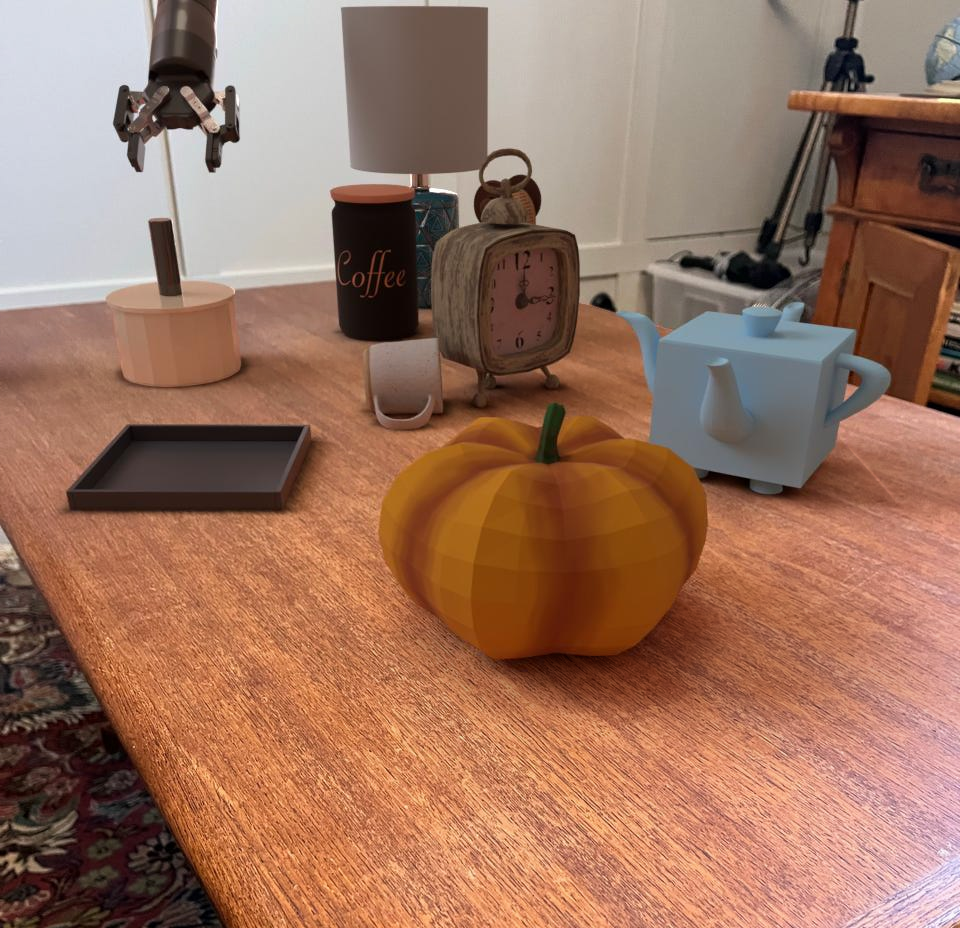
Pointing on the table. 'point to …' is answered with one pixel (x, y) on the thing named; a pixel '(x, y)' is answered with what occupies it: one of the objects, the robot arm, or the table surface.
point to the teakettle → (753, 391)
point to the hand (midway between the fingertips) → (173, 167)
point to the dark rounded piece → (527, 196)
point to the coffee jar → (375, 261)
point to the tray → (194, 468)
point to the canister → (178, 346)
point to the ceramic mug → (403, 381)
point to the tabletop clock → (505, 290)
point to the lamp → (418, 105)
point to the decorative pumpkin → (545, 535)
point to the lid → (168, 282)
